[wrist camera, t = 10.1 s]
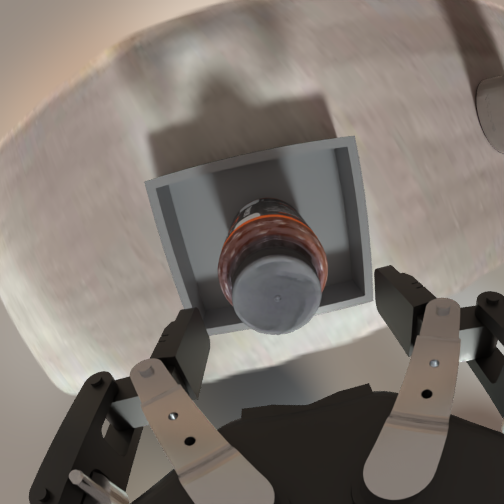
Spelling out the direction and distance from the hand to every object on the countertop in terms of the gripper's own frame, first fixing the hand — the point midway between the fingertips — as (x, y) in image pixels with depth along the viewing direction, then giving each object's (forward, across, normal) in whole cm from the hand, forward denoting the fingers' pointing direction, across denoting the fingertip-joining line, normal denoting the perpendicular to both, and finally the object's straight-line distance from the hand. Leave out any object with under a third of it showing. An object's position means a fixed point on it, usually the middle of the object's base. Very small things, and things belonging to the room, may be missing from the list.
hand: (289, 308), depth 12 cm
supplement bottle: (+12, 0, 0) cm, 12 cm away
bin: (+12, +1, 0) cm, 12 cm away
